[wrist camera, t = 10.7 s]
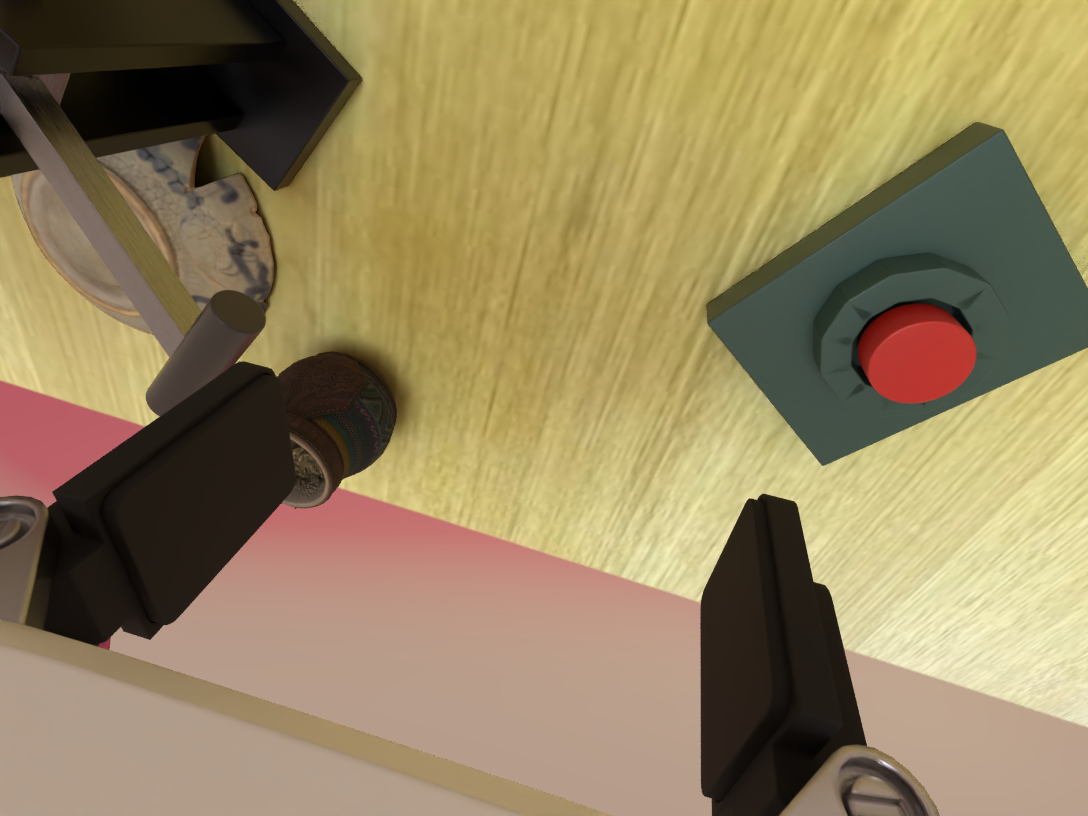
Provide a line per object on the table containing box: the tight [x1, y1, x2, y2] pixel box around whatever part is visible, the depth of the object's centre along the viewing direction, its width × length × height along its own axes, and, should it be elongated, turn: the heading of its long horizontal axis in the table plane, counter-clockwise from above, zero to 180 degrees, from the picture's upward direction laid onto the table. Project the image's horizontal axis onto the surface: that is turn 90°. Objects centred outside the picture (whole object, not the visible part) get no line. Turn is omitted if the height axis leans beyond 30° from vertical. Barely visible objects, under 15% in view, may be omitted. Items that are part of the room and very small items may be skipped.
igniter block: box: [706, 122, 1088, 466], centre depth 24 cm, size 12×10×4 cm
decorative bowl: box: [11, 135, 274, 335], centre depth 30 cm, size 15×4×15 cm
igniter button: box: [858, 303, 976, 403], centre depth 22 cm, size 4×4×2 cm
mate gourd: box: [277, 352, 397, 509], centre depth 31 cm, size 7×8×10 cm
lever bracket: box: [0, 0, 362, 191], centre depth 20 cm, size 10×7×13 cm
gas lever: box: [0, 67, 266, 416], centre depth 16 cm, size 13×5×2 cm, turn 43°
